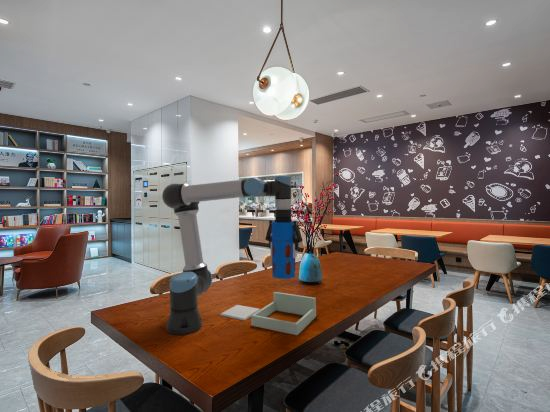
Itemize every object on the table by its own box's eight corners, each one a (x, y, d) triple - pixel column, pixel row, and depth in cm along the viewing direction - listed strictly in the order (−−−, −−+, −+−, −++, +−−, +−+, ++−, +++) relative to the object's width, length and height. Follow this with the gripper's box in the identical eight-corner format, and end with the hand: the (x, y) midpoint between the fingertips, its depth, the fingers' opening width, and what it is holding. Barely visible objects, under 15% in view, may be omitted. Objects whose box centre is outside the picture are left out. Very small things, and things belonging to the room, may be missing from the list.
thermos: (297, 273, 141) (297, 221, 141) (292, 279, 131) (292, 222, 131) (275, 272, 144) (275, 221, 144) (269, 278, 134) (268, 222, 134)
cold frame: (297, 335, 123) (297, 313, 123) (251, 325, 133) (251, 305, 133) (316, 316, 143) (315, 297, 142) (274, 309, 153) (274, 291, 153)
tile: (244, 320, 139) (244, 318, 139) (220, 315, 145) (220, 313, 145) (259, 310, 151) (259, 308, 151) (237, 306, 158) (237, 304, 158)
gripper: (309, 208, 135) (310, 257, 135) (265, 208, 146) (265, 253, 146) (303, 209, 129) (303, 260, 129) (257, 209, 139) (257, 255, 140)
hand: (283, 256), depth 138 cm, fingers closed on thermos, 11 cm apart
